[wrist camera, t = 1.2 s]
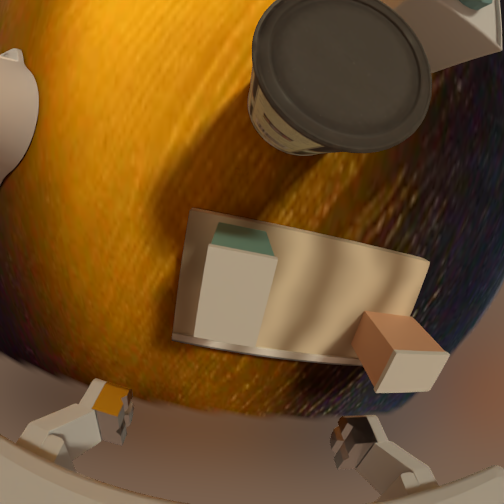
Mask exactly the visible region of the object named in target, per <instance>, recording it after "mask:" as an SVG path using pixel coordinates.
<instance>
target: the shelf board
mask: <svg viewBox="0 0 504 504" xmlns="http://www.w3.org/2000/svg"><path fill="white" fill-rule="evenodd" d="M218 222H221V223H226V224H231V225H236V226H241V227H246V228H251V229H256V230H261V231H266V233H267V236H268V239H269V241H270V244H271V247H272V250H273V253H274V256H275V257H277V258H278V262H277V266H276V270H275V274H274V278H273V282H272V286H271V289H270V293H269V297H268V301H267V305H266V309H265V312H264V316H263V320H262V324H261V328H260V331H259V335H258V339H257V342H256V346H255V347H249V346H242V345H236V344H230V343H224V342H219V341H213V340H208V339H202V338H197V337H194V330H195V324H196V317H197V311H198V304H199V298H200V292H201V286H202V280H203V274H204V268H205V262H206V256H207V250H208V245H209V244H211V242H212V239H213V237H214V234H215V231H216V228H217V225H218ZM429 264H430V262H429V261H427V260H426V259H424V258H421V257H417V256H413V255H409V254H405V253H401V252H397V251H393V250H389V249H385V248H380V247H376V246H372V245H368V244H364V243H359V242H355V241H351V240H346V239H342V238H338V237H333V236H329V235H324V234H320V233H315V232H311V231H306V230H302V229H297V228H292V227H288V226H283V225H278V224H273V223H269V222H264V221H259V220H254V219H249V218H244V217H239V216H234V215H229V214H224V213H219V212H214V211H208V210H203V209H198V208H193V207H192V208H191V209H190V211H189V217H188V223H187V229H186V235H185V242H184V248H183V255H182V262H181V269H180V276H179V284H178V291H177V299H176V308H175V316H174V325H173V332H172V341H176V342H181V343H186V344H191V345H196V346H201V347H207V348H212V349H218V350H224V351H229V352H236V353H242V354H248V355H255V356H262V357H270V358H277V359H285V360H294V361H303V362H313V363H324V364H336V365H350V366H363V365H362V363H361V362H360V360H359V358H358V356H357V354H356V352H355V351H354V349H353V347H352V345H351V343H352V341H353V338H354V336H355V333H356V331H357V328H358V326H359V323H360V321H361V318H362V316H363V313H364V311H371V312H379V313H386V314H394V315H401V316H409V317H410V314H411V312H412V310H413V307H414V305H415V302H416V300H417V297H418V294H419V292H420V289H421V287H422V284H423V281H424V278H425V276H426V273H427V270H428V267H429Z"/></svg>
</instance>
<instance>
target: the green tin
mask: <svg viewBox="0 0 504 504" xmlns="http://www.w3.org/2000/svg"><path fill="white" fill-rule="evenodd" d="M277 262H278V258H277V257H275V256H274V253H273V250H272V247H271V244H270V241H269V239H268V236H267V233H266V231H261V230H256V229H251V228H246V227H241V226H236V225H231V224H226V223H221V222H218V225H217V228H216V231H215V234H214V237H213V239H212V242H211V244H209V245H208V250H207V256H206V262H205V268H204V274H203V280H202V286H201V292H200V298H199V304H198V311H197V317H196V324H195V330H194V337H197V338H202V339H208V340H213V341H219V342H224V343H230V344H236V345H242V346H249V347H255V346H256V342H257V339H258V335H259V331H260V328H261V324H262V320H263V316H264V312H265V309H266V305H267V301H268V297H269V293H270V289H271V286H272V282H273V278H274V274H275V270H276V266H277Z"/></svg>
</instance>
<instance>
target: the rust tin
mask: <svg viewBox="0 0 504 504" xmlns="http://www.w3.org/2000/svg"><path fill="white" fill-rule="evenodd" d="M351 345H352V347H353V349H354V351H355V352H356V354H357V356H358V358H359V360H360V362H361V363H362V365H363V367H364V369H365V371H366V373H367V374H368V376H369V378H370V380H371V382H372V384H373V386H374V391H375V393H400V392H422V391H430V389H431V387H432V386H433V384H434V382H435V381H436V379H437V377H438V376H439V374H440V372H441V370H442V369H443V367H444V365H445V363H446V361H447V360H448V358H449V356H450V354H449V353H448V352H445V351H444V350H443V349H442V348H441V347H440V346H439V345H438V343H437V342H436V341H435V340H434V339H433V338H432V337H431V336H430V335H429V334H428V333H427V332H426V331H425V330H424V329H423V328H422V327H421V326H420V324H419V323H418V322H417V321H416V320H415V319H414V318H413V317H409V316H401V315H394V314H386V313H379V312H371V311H364V313H363V316H362V318H361V321H360V323H359V326H358V328H357V331H356V333H355V336H354V338H353V341H352V343H351Z"/></svg>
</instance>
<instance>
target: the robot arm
mask: <svg viewBox="0 0 504 504" xmlns="http://www.w3.org/2000/svg"><path fill="white" fill-rule="evenodd" d="M38 108H39V95H38V88H37V84H36V81H35V78H34V76H33V75H32V73H31V72H30V71H29V70H28V69H27V68H26V66H25V65H24V60H23V54H22V51H21V50H20V49H15V48H14V49H11V50H9V51H7V52H5V53H3V54H1V55H0V185H1V183H2V180H3V179H4V177H5V176H6V175H7V174H9V173H10V172H11V171H12V170H13V169H14V168H15V167H16V166H17V165H18V163H19V162H20V161H21V159H22V158H23V156H24V154H25V152H26V151H27V149H28V146H29V144H30V142H31V139H32V136H33V133H34V130H35V126H36V122H37V116H38ZM132 397H133V393H132V389H129V388H126V387H123V386H119V385H116V384H113V383H110V382H106V381H103V380H100V379H97V378H95V379H94V380H93V381H92V382H91V384H90V386H89V387H88V389H87V391H86V392H85V394H84V396H83V397H82V399H81V401H80V402H79V404H76V403H75V404H72V405H70V406H68V407H65V408H63V409H61V410H58V411H56V412H54V413H51V414H49V415H47V416H44V417H42V418H39V419H37V420H34V421H32V422H30V423H29V424H28V426H27V427H26V429H25V430H24V432H23V433H22V435H21V436H20V438H19V439H18V441H17V442H16V443H14V442H12V441H11V440H9V439H7V438H6V437H4V436H2V435H0V504H188V503H182V502H176V501H171V500H166V499H162V498H157V497H153V496H148V495H145V494H141V493H136V492H133V491H129V490H126V489H122V488H119V487H116V486H113V485H109V484H106V483H104V482H100V481H98V480H95V479H92V478H89V477H87V476H84V475H81V474H79V473H77V472H76V469H75V467H74V465H73V463H72V461H73V460H74V459H76V458H77V457H79V456H80V455H82V454H83V453H85V452H86V451H88V450H89V449H91V448H92V447H94V446H95V445H97V444H98V443H99V442H101V441H102V440H104V441H107V442H110V443H114V444H117V445H121V446H122V445H123V443H124V440H125V437H126V434H127V431H126V427H128V426H130V423H131V421H132V417H133V410H134V407H133V403H132V402H131V399H132ZM338 425H339V426H338V427H336V428H335V429H334V430H333V432H332V434H331V438H330V445H331V449H332V450H333V451H334V452H335V453H336V455H335V457H334V461H335V464H336V468H337V470H341V469H355V470H356V471H357V472H358V473H359V474H360V475H361V476H362V477H363V478H364V479H365V480H366V481H367V482H368V483H369V484H370V485H371V486H372V487H373V488H374V489H375V490H376V491H377V492H378V493H379V494H380V495H381V496H380V497H379V498H378V499H377V500H376V501H375V502H374V503H367V504H504V468H502V467H500V466H497V465H494V466H491V467H488V468H486V469H483V470H481V471H479V472H476V473H474V474H471V475H469V476H466V477H464V478H461V479H458V480H456V481H453V482H450V483H447V484H444V485H441V486H439V485H438V483H437V482H436V479H435V477H434V475H433V473H432V472H431V469H430V467H429V466H427V465H426V464H424V463H422V462H421V461H420V460H418V459H416V458H415V457H414V456H412V455H411V454H409V453H408V452H406V451H405V450H403V449H402V448H401V447H399V446H398V445H396V444H395V443H393V442H392V441H388V439H387V437H386V435H385V432H384V430H383V428H382V426H381V424H380V422H379V420H378V417H377V416H376V415H365V416H342V417H341V418H340V419H339V421H338Z"/></svg>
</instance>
